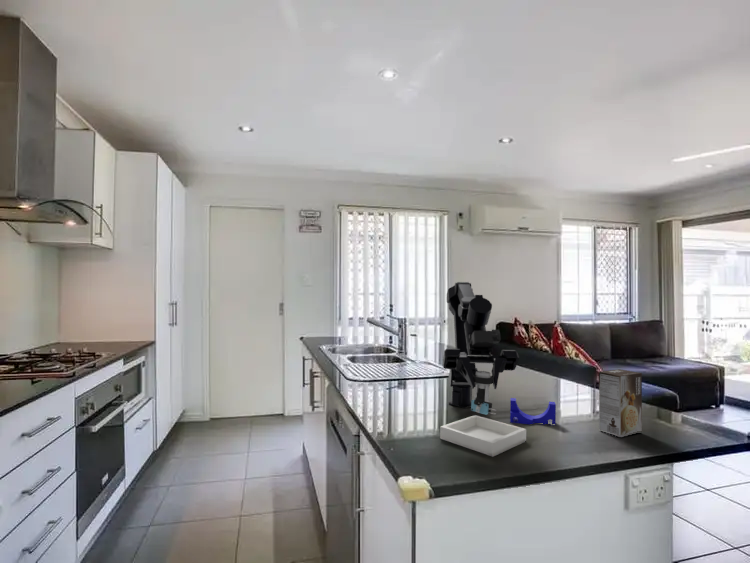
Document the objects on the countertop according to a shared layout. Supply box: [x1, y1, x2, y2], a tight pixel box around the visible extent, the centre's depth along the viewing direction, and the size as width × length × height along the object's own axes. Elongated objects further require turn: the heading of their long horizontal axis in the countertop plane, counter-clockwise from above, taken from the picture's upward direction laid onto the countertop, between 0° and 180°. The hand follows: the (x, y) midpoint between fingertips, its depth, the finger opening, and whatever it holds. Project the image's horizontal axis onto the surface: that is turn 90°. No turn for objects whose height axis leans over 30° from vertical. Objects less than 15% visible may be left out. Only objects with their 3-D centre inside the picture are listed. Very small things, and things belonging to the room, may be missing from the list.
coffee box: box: [598, 368, 643, 435], centre depth 114 cm, size 9×6×16 cm
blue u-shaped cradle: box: [509, 397, 557, 426], centre depth 121 cm, size 12×4×6 cm, turn 72°
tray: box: [439, 414, 527, 458], centre depth 106 cm, size 15×15×3 cm
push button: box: [470, 370, 497, 416], centre depth 107 cm, size 7×5×10 cm
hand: (484, 388), depth 105 cm, fingers closed on push button, 5 cm apart
